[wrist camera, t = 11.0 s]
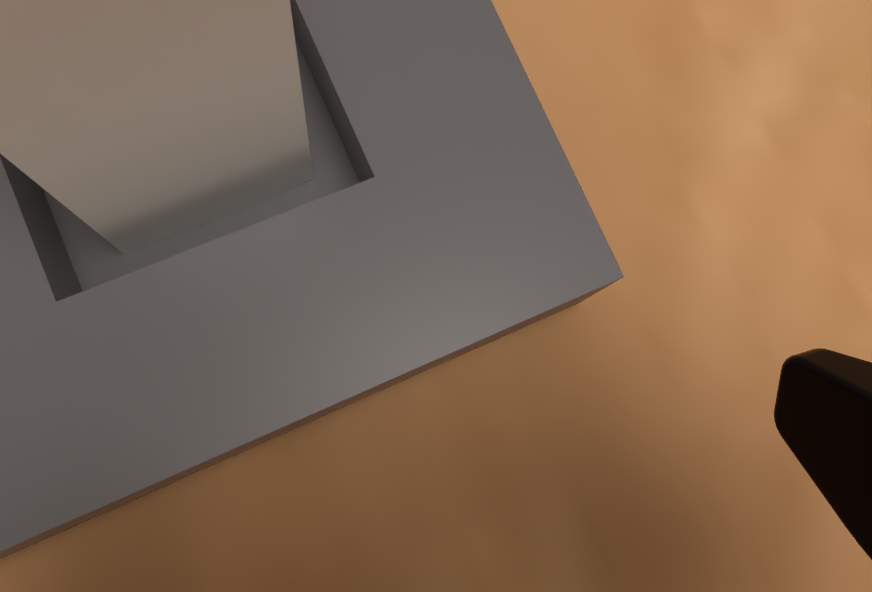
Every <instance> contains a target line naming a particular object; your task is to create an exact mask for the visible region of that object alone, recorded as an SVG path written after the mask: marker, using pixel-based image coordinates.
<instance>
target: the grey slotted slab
mask: <svg viewBox="0 0 872 592" xmlns="http://www.w3.org/2000/svg"><path fill="white" fill-rule="evenodd" d="M290 5H291V13H292V20H293V28H294V35H295V43H296V50H297V58H298V65H299V72H300V80H301V87H302V95H303V102H304V110H305V117H306V125H307V132H308V140H309V147H310V154H311V162H312V169H313V177H314V179H312V180H309V181H307V182H304V183H302V184H299V185H297V186H294V187H292V188H289V189H287V190H284V191H282V192H279V193H277V194H274V195H272V196H269V197H267V198H265V199H262V200H260V201H257V202H255V203H252V204H250V205H247V206H245V207H242V208H240V209H237V210H235V211H232V212H230V213H227V214H225V215H222V216H220V217H217V218H215V219H212V220H210V221H207V222H205V223H202V224H200V225H197V226H195V227H192V228H190V229H187V230H185V231H182V232H180V233H177V234H175V235H172V236H170V237H167V238H165V239H162V240H160V241H157V242H155V243H152V244H150V245H147V246H145V247H142V248H140V249H137V250H135V251H132V252H130V253H128V254H125V255H124V254H123V253H122V252H121V251H119V250H118V249H117V248H116V247H114V246H113V245H112V244H111V243H110V242H108V241H107V240H106V239H105V238H103V237H102V236H101V235H100V234H98V233H97V232H96V231H95V230H94V229H92V228H91V227H90V226H89V225H87V224H86V223H85V222H84V221H82V220H81V219H80V218H79V217H78V216H76V215H75V214H74V213H73V212H71V211H70V210H69V209H68V208H67V207H65V206H64V205H63V204H62V203H60V202H59V201H58V200H57V199H55V198H54V197H53V196H52V195H51V194H49V193H48V192H47V191H46V190H44V189H43V188H42V187H41V186H39V185H38V184H37V183H36V182H35V181H33V180H32V179H31V178H30V177H28V176H27V175H26V174H25V173H24V172H22V171H21V170H20V169H19V168H17V167H16V166H15V165H14V164H12V163H11V162H10V161H9V160H8V159H6V158H5V157H4V156H3V155H1V154H0V558H2V557H5V556H7V555H9V554H11V553H14V552H16V551H18V550H20V549H23V548H25V547H27V546H29V545H32V544H34V543H36V542H38V541H41V540H43V539H45V538H48V537H50V536H52V535H54V534H57V533H59V532H61V531H63V530H66V529H68V528H70V527H72V526H75V525H77V524H79V523H81V522H84V521H86V520H88V519H91V518H93V517H95V516H97V515H100V514H102V513H104V512H106V511H109V510H111V509H113V508H115V507H118V506H120V505H122V504H124V503H127V502H129V501H131V500H134V499H136V498H138V497H140V496H143V495H145V494H147V493H149V492H152V491H154V490H156V489H158V488H161V487H163V486H165V485H167V484H170V483H172V482H174V481H176V480H179V479H181V478H183V477H186V476H188V475H190V474H192V473H195V472H197V471H199V470H201V469H204V468H206V467H208V466H210V465H213V464H215V463H217V462H219V461H222V460H224V459H226V458H229V457H231V456H233V455H235V454H238V453H240V452H242V451H244V450H247V449H249V448H251V447H253V446H256V445H258V444H260V443H262V442H265V441H267V440H269V439H272V438H274V437H276V436H278V435H281V434H283V433H285V432H287V431H290V430H292V429H294V428H296V427H299V426H301V425H303V424H305V423H308V422H310V421H312V420H314V419H317V418H319V417H321V416H324V415H326V414H328V413H330V412H333V411H335V410H337V409H339V408H342V407H344V406H346V405H348V404H351V403H353V402H355V401H357V400H360V399H362V398H364V397H367V396H369V395H371V394H373V393H376V392H378V391H380V390H382V389H385V388H387V387H389V386H391V385H394V384H396V383H398V382H400V381H403V380H405V379H407V378H410V377H412V376H414V375H416V374H419V373H421V372H423V371H425V370H428V369H430V368H432V367H434V366H437V365H439V364H441V363H443V362H446V361H448V360H450V359H452V358H455V357H457V356H459V355H462V354H464V353H466V352H468V351H471V350H473V349H475V348H477V347H480V346H482V345H484V344H486V343H489V342H491V341H493V340H495V339H498V338H500V337H502V336H505V335H507V334H509V333H511V332H514V331H516V330H518V329H520V328H523V327H525V326H527V325H529V324H532V323H534V322H536V321H538V320H541V319H543V318H545V317H548V316H550V315H552V314H554V313H557V312H559V311H561V310H563V309H566V308H568V307H570V306H572V305H575V304H577V303H579V302H581V301H583V300H585V299H586V298H588V297H590V296H592V295H593V294H595V293H597V292H599V291H600V290H602V289H604V288H605V287H607V286H609V285H611V284H612V283H614V282H616V281H617V280H619V279H621V278H623V277H624V276H623V274H622V272H621V270H620V268H619V265H618V263H617V261H616V259H615V257H614V255H613V253H612V251H611V249H610V247H609V245H608V243H607V241H606V238H605V236H604V234H603V232H602V230H601V228H600V226H599V224H598V222H597V220H596V218H595V216H594V214H593V211H592V209H591V207H590V205H589V203H588V201H587V199H586V197H585V195H584V193H583V191H582V189H581V187H580V184H579V182H578V180H577V178H576V176H575V174H574V172H573V170H572V168H571V166H570V164H569V162H568V160H567V157H566V155H565V153H564V151H563V149H562V147H561V145H560V143H559V141H558V139H557V137H556V135H555V133H554V130H553V128H552V126H551V124H550V122H549V120H548V118H547V116H546V114H545V112H544V110H543V108H542V106H541V103H540V101H539V99H538V97H537V95H536V93H535V91H534V89H533V87H532V85H531V83H530V81H529V79H528V76H527V74H526V72H525V70H524V68H523V66H522V64H521V62H520V60H519V58H518V56H517V54H516V51H515V49H514V47H513V45H512V43H511V41H510V39H509V37H508V35H507V33H506V31H505V29H504V27H503V24H502V22H501V20H500V18H499V16H498V14H497V12H496V10H495V8H494V6H493V4H492V2H491V0H290Z"/></svg>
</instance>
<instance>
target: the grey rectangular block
mask: <svg viewBox="0 0 872 592" xmlns="http://www.w3.org/2000/svg"><path fill="white" fill-rule="evenodd" d="M0 154H1V155H3V156H4V157H5V158H6V159H8V160H9V161H10V162H11V163H12V164H14V165H15V166H16V167H17V168H19V169H20V170H21V171H22V172H24V173H25V174H26V175H27V176H28V177H30V178H31V179H32V180H33V181H35V182H36V183H37V184H38V185H39V186H41V187H42V188H43V189H44V190H46V191H47V192H48V193H49V194H51V195H52V196H53V197H54V198H55V199H57V200H58V201H59V202H60V203H62V204H63V205H64V206H65V207H67V208H68V209H69V210H70V211H71V212H73V213H74V214H75V215H76V216H78V217H79V218H80V219H81V220H82V221H84V222H85V223H86V224H87V225H89V226H90V227H91V228H92V229H94V230H95V231H96V232H97V233H98V234H100V235H101V236H102V237H103V238H105V239H106V240H107V241H108V242H110V243H111V244H112V245H113V246H114V247H116V248H117V249H118V250H119V251H121V252H122V253H123V254H124V255H125V254H128V253H130V252H132V251H135V250H137V249H140V248H142V247H145V246H147V245H150V244H152V243H155V242H157V241H160V240H162V239H165V238H167V237H170V236H172V235H175V234H177V233H180V232H182V231H185V230H187V229H190V228H192V227H195V226H197V225H200V224H202V223H205V222H207V221H210V220H212V219H215V218H217V217H220V216H222V215H225V214H227V213H230V212H232V211H235V210H237V209H240V208H242V207H245V206H247V205H250V204H252V203H255V202H257V201H260V200H262V199H265V198H267V197H269V196H272V195H274V194H277V193H279V192H282V191H284V190H287V189H289V188H292V187H294V186H297V185H299V184H302V183H304V182H307V181H309V180H312V179H314V177H313V169H312V162H311V154H310V147H309V140H308V132H307V125H306V117H305V110H304V102H303V95H302V87H301V80H300V72H299V65H298V58H297V50H296V43H295V35H294V28H293V20H292V13H291V5H290V0H0Z"/></svg>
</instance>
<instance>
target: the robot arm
mask: <svg viewBox="0 0 872 592" xmlns="http://www.w3.org/2000/svg"><path fill="white" fill-rule="evenodd" d="M774 418H775V423H776V427H777V429H778V431H779V433H780V435H781V436H782V438H783V439H784V441H785V442H786V444H787V445H788V446H789V448H790V449H791V451H792V452H793V453H794V455H795V456H796V458H797V459H798V460H799V462H800V463H801V465H802V466H803V467H804V469H805V470H806V472H807V473H808V474H809V476H810V477H811V479H812V480H813V482H814V483H815V484H816V486H817V487H818V489H819V490H820V491H821V493H822V494H823V496H824V497H825V498H826V500H827V501H828V503H829V504H830V505H831V507H832V508H833V510H834V511H835V512H836V514H837V515H838V517H839V518H840V519H841V521H842V522H843V524H844V525H845V527H846V528H847V529H848V531H849V532H850V533H851V534H852V536H853V537H854V538H855V540H856V541H857V542H858V544H859V545H860V546H861V548H862V549H863V550H864V551H865V552H866V554H867V555H868V556H869V557H870V558H871V560H872V363H871V362H868V361H864V360H861V359H858V358H854V357H851V356H848V355H844V354H841V353H837V352H834V351H831V350H827V349H820V348H819V349H813V350H809V351H806V352H803V353H800V354H797V355H793V356H791V357H789V358H787V359H786V361H785V362H784V364H783V366H782V369H781V374H780V380H779V386H778V392H777V398H776V404H775V409H774Z"/></svg>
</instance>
